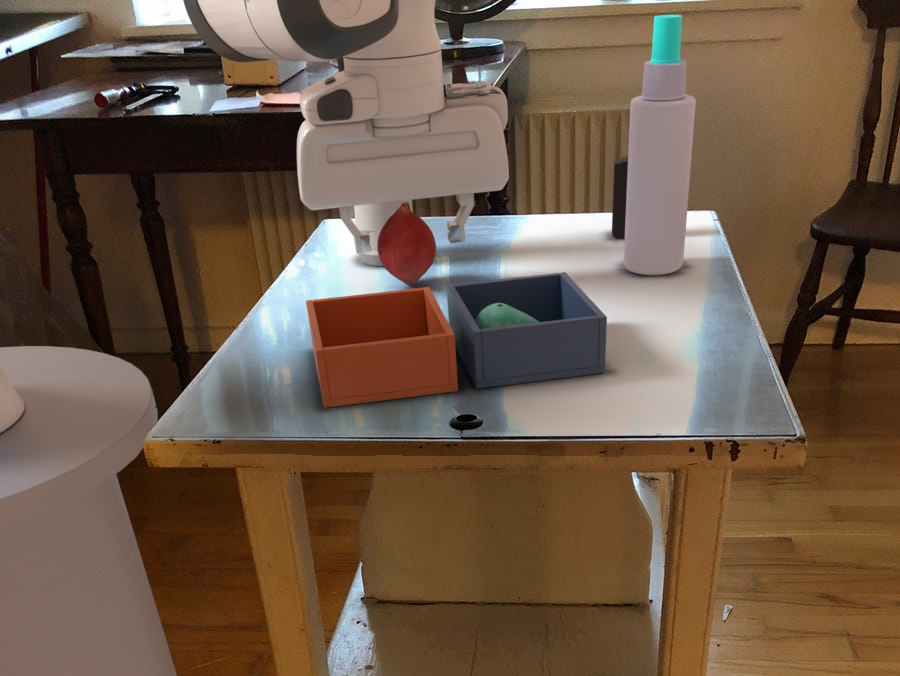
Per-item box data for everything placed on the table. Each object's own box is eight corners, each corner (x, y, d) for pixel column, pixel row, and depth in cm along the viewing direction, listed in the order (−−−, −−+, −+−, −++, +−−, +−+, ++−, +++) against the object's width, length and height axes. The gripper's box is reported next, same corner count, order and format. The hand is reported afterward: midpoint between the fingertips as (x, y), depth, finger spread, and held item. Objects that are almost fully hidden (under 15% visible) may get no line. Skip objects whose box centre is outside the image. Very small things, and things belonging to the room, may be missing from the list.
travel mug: (355, 269, 105) (330, 54, 93) (363, 251, 110) (340, 45, 98) (413, 266, 105) (395, 50, 92) (418, 249, 110) (402, 42, 98)
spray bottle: (627, 278, 98) (639, 21, 85) (620, 260, 103) (629, 15, 90) (687, 275, 98) (708, 17, 85) (677, 257, 103) (695, 11, 90)
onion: (376, 294, 98) (367, 209, 93) (388, 276, 102) (380, 195, 97) (432, 294, 97) (426, 209, 92) (442, 276, 102) (437, 194, 97)
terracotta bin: (324, 408, 76) (315, 350, 73) (313, 352, 86) (305, 300, 83) (458, 391, 78) (454, 334, 75) (433, 338, 87) (429, 286, 84)
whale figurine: (478, 337, 85) (476, 293, 83) (562, 337, 84) (562, 292, 82) (470, 362, 81) (467, 316, 78) (558, 362, 80) (558, 316, 78)
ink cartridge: (655, 232, 111) (660, 155, 106) (656, 237, 109) (661, 160, 104) (611, 233, 112) (614, 156, 107) (611, 238, 110) (614, 161, 105)
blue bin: (476, 389, 78) (473, 332, 75) (449, 336, 87) (446, 284, 85) (605, 372, 79) (607, 316, 76) (564, 323, 89) (565, 271, 86)
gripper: (499, 74, 93) (504, 227, 101) (283, 94, 90) (307, 249, 99) (514, 83, 88) (518, 243, 96) (286, 105, 85) (311, 267, 94)
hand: (410, 246), depth 97 cm, fingers open, 8 cm apart
